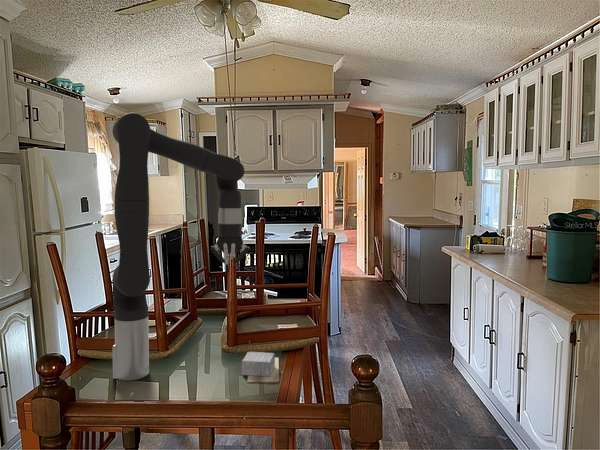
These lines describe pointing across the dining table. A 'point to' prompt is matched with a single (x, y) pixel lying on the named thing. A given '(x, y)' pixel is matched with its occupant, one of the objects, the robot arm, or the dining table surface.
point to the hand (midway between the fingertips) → (229, 275)
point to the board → (272, 378)
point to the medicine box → (258, 364)
